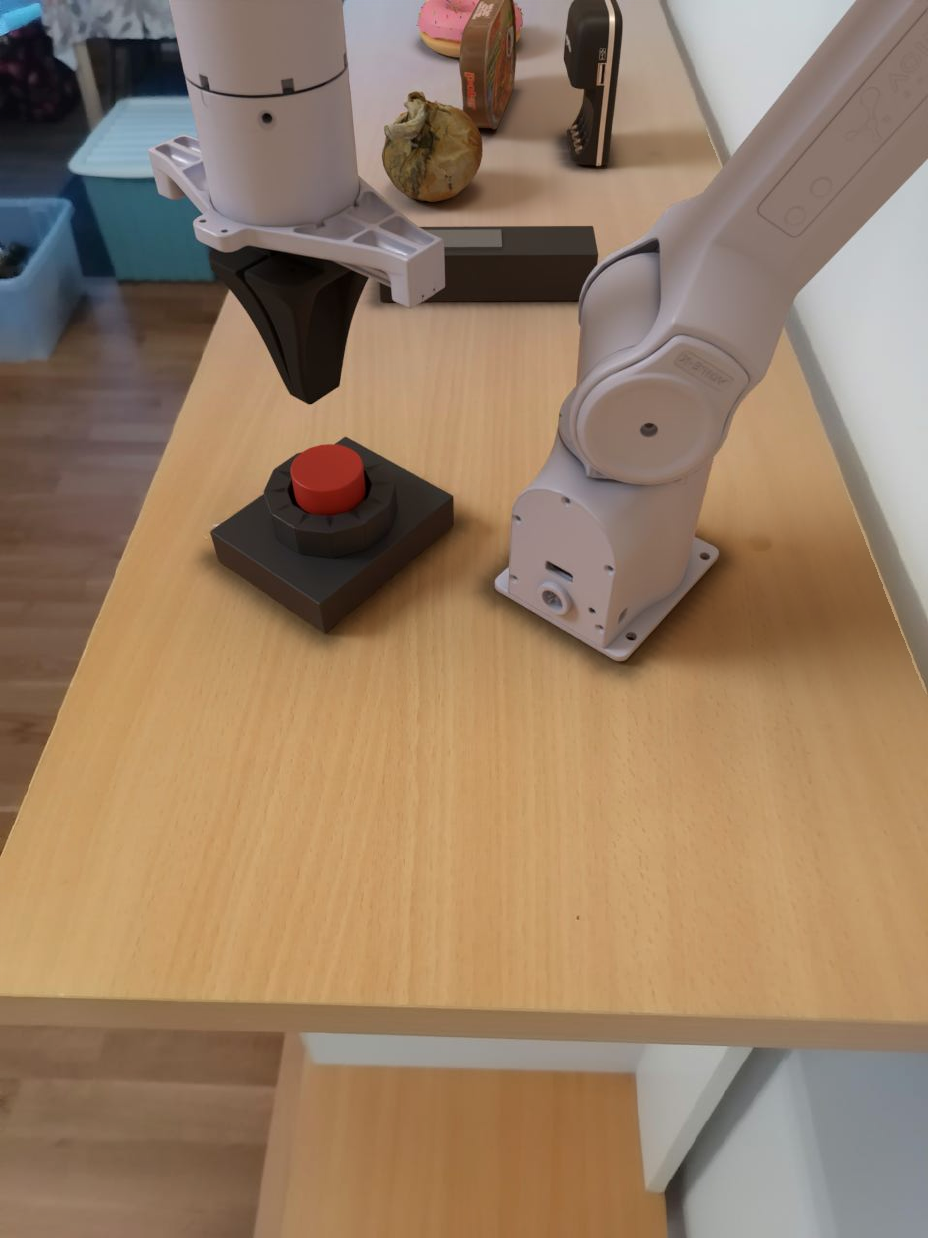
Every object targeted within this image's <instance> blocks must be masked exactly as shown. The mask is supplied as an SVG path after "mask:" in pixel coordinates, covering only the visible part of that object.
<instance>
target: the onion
mask: <svg viewBox="0 0 928 1238" xmlns="http://www.w3.org/2000/svg"><path fill="white" fill-rule="evenodd" d="M403 106H404V107H405V108H406V110H407V111H404V112H402V113H401V114H399V116H398V117H397V118H396V119H395V121H394V122H393V123H388V124H387V125H384V126H383V131H384V135H385V139H384V145H383V148H382V151H381V162H382V167H383V169H384V171H385V173H386V175H387V177H388V178H389V180H390V182H391V183H392V185H393V186H394V187H395V188H396V189H397V190H398V191H399V192H401V193H403V195H404V196H406V197H408V198H411V199H415V200H418V201H422V202H425V201H426V202H430V203H433V202H440V201H444V200H449V199H450V198H453V197H456V196H457V195H458V194H459V193H460V192H461V191H462V190H464V189H466V187H467V186H468V185H469V184H470V183H471V182H472V180H473V179H474V178H475V176H476V175H477V173H478V171H479V169H480V167H481V164H482V159H483V139H482V135H481V132H480V130H479V128H477V126H476V124H475V123H474V122H473V120H472V119H471V118H470V117H469V116H468V115H467V114H466V113H465V112H464V111H463V109H460V108H459V107H455V106H453V105H451V104H444V103H441V102H438V101H437V100H434V101H431V100H427V98H426V95H425V94H424V92H423V91H420V92H419V91H418V90H414V91H412V92H409V93H408V94H407V101H406V102H403Z"/></svg>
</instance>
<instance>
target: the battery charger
mask: <svg viewBox="0 0 928 1238" xmlns="http://www.w3.org/2000/svg"><path fill="white" fill-rule="evenodd" d="M566 18H567V20H566V27H565V35H564V36H565V37H564V46H563V49H564V50H563V63H564V65H565V69H566V75H567V77H568V78H567V79H568V80H569V84H570V86H571V87H572V88H574V89H578V90H583V95H582V103H581V107H580V108H579V112H578V114H577V116H576V117H575V119H574V121H573V122H572V124H571V126H570V127H569V128H567V130H566V133H565V138H566V144H567V148H568V152H569V156H570V159H571V161H572V162H573V163H574V164H576V165H583V166H596V167H601V166H602V165H603V166H604V165H608V163H609V162H610V152H611V143H612V142H611V141H612V134H613V125H614V124H613V123H614V116H615V107H616V101H617V100H616V98H617V91H618V90H617V89H618V81H619V73H620V62H621V55H622V54H621V52H622V43H623V31H624V30H623V29H624V22H623V21H624V19H623V14H622V11H621V8H620V6H619V3H618V1H617V0H572V2H571V3H570V6H569V8H568V11H567V17H566Z"/></svg>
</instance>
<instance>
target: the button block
mask: <svg viewBox="0 0 928 1238" xmlns="http://www.w3.org/2000/svg"><path fill="white" fill-rule="evenodd" d="M334 444H335V445H341V446H345V447H348V448H350V449H352V450H354V451H355V452H356V453H357V454H358V455H359V456H360V458H361V459H362V462H363V469H364V478H365V487H366V493H365V496H364V499H363V500H362V502H361V503H360V504H359V505H358V506H357V507H356V508H354V509H353V510H351V511H349V512H345V513H341V514H337V515H333V516H324V515H315V514H310V513H308V512H306V511H305V510H303V509H302V508H301V507H300V506H299V505H298V503H297V501H296V499H295V494H294V489H293V483H292V478H291V471H290V470H291V466H292V463H293V461H294V460H295V458H296V457H297V456H298V455H299V454H301V453H302V452H303V451H301V452H297V453H295V454H294V455H292V456H290V458H288V459H286V460H285V461H283V462H282V463H280V464H279V465H278V466H276V467H275V468H274V469H273V470H272V472H271V474H270V476H269V478H268V480H267V483H266V484H265V487H264V489H263V494H261V495H260V496H258V497H257V498H255V499H254V500H253V501H251V502H249V504H247V505H245V506H244V507H242V508H241V509H240V510H238V511H237V512H236V513H234V514H233V515H231V516H230V517H228V518H227V519H226V520H224V521H223V522H221V523H219V525H217V526H216V527H214V528H213V529H211V530H210V531H209V533H210V538H211V539H212V540H211V541H212V544H213V547H214V551H215V554H216V558H217V562H219V563H221V564H222V565H224V566H225V567H226V568H228V569H230V570H231V571H232V572H234V573H235V574H237V575H238V576H239V577H241V578H243V579H244V580H246V581H247V582H248V583H250V584H251V585H253V586H254V587H255V588H257V589H259V590H260V591H262V592H263V593H264V594H266V595H268V596H269V597H271V598H272V599H273V600H274V601H276V602H278V603H279V604H281V605H282V606H284V607H285V608H287V609H288V610H290V611H291V612H292V613H293V614H295V615H297V617H300V618H301V619H302V620H304V621H305V622H307V623H308V624H310V625H311V626H313V627H314V628H316V629H317V630H318V631H320V632H322V633H323V634H326V633H328V631H330V630H331V629H333V628H334V627H335V626H336V625H337V624H338V623H340V622H341V621H342V620H343V619H345V618H346V617H347V616H348V615H349V614H350V613H352V612H353V611H354V610H355V609H356V608H358V607H359V606H360V605H361V604H362V603H363V602H365V601H366V600H367V599H368V598H370V596H372V595H374V593H376V592H377V591H378V590H379V589H380V588H382V587H383V586H384V585H385V584H387V583H388V581H389V580H391V579H392V578H393V577H394V576H396V575H398V573H399V572H401V571H402V570H403V569H404V568H405V567H407V566H408V565H409V564H410V563H411V562H412V561H414V560H415V559H416V558H417V557H419V555H421V554H422V553H423V552H425V551H426V550H427V549H428V548H429V547H430V546H431V545H433V544H434V543H435V542H436V541H438V540H439V539H440V538H441V537H443V536H444V535H445V534H446V533H447V532H449V531H450V530H451V529H452V528H454V526H455V508H454V505H455V504H454V499H455V498H454V495H452V494H451V493H449V492H447V491H446V490H443V488H440V487H438V486H436V485H435V484H433V483H431V482H429V481H427V480H425V479H424V478H422V477H420V476H418V475H417V474H414V473H413V472H411V471H409V470H407V469H405V468H404V467H402V466H400V465H398V464H397V463H395V462H393V461H391V460H390V459H387V458H386V457H384V456H383V455H381V454H378V453H376V452H375V451H373V450H372V449H369V448H367V447H365V446H364V445H362V444H360V443H358V442H357V441H355V440H353V439H351V438H349V437H348V436H344V437H342V438H341V439H340V440H338V441H337V442H335V443H334Z"/></svg>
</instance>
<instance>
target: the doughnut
mask: <svg viewBox="0 0 928 1238" xmlns="http://www.w3.org/2000/svg"><path fill="white" fill-rule="evenodd" d="M478 2H479V0H426V1H425V2H424V4H422V6H421V7H420V8H421V9H420V11H419V13H417V15H418V17H417V24H416V26H417V27H418V29H419V34H420V38H421V40H422V41H423V43H424V44H425V45H426V46H427V47H428V48H429V49H430V50H432V51H434V52H436V53H438V54H440V55H443V56H448V57H452V58H458V59H459V58H460V45H461V39H462V34H463V30H464V28H465V26H466V24H467V22H468V20H469V18H470V16H471V14H472V13H473V11H474V9H475V7H476V5H477V4H478ZM513 2H514V8H515V18H516V19H515V20H516V43H517V42H518V41H519V39H520V37H521V32H522V27H523V26H524V19H523V16H524V14H523V12H522V8H520V7H519V6H518V2H515V1H514V0H513Z"/></svg>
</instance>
